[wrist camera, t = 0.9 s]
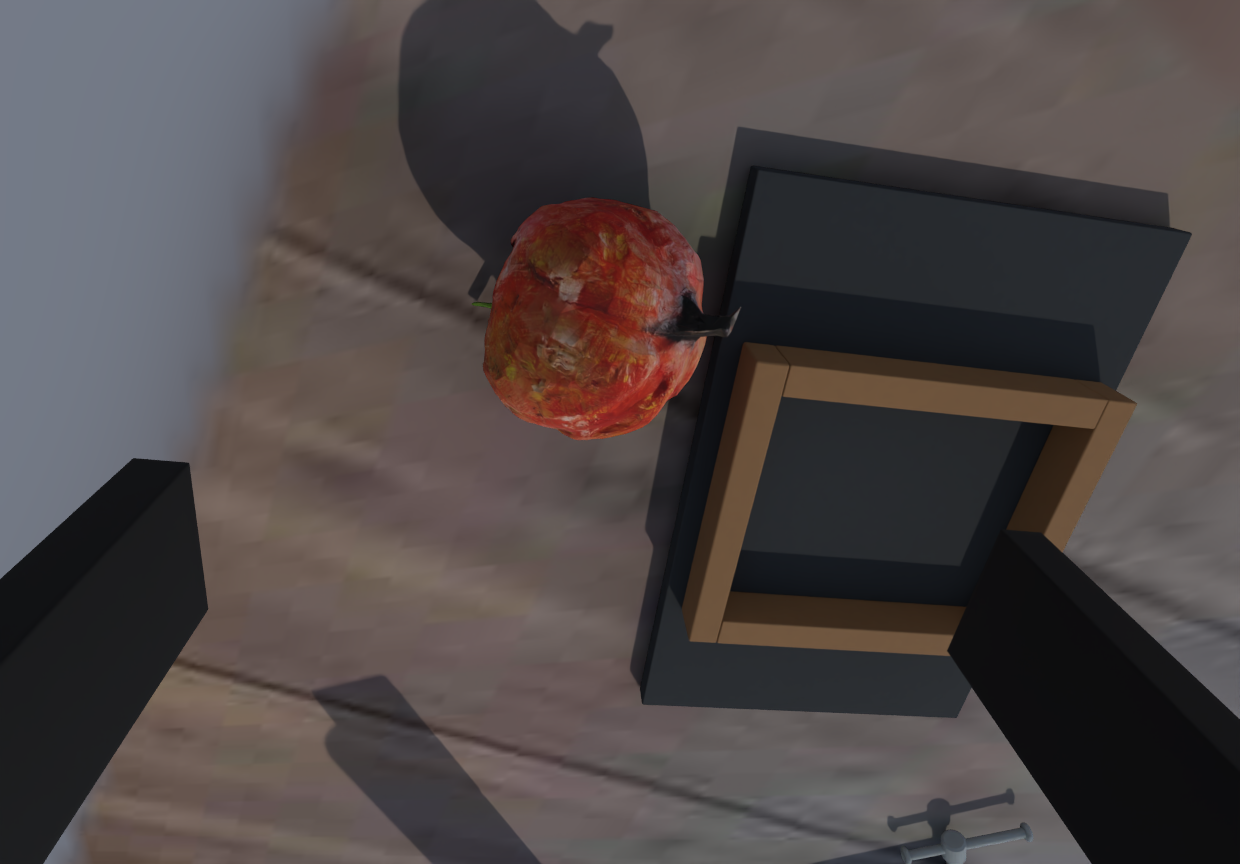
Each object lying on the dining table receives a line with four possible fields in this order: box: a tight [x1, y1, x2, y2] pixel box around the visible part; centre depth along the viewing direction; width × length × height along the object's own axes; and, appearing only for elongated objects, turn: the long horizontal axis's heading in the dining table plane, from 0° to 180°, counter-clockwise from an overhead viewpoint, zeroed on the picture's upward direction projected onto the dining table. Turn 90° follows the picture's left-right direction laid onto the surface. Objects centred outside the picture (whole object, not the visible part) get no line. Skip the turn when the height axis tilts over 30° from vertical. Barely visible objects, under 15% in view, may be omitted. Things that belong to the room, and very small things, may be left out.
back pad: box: [640, 166, 1192, 718], centre depth 29 cm, size 24×16×3 cm, turn 172°
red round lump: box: [472, 197, 741, 440], centre depth 23 cm, size 7×7×10 cm
